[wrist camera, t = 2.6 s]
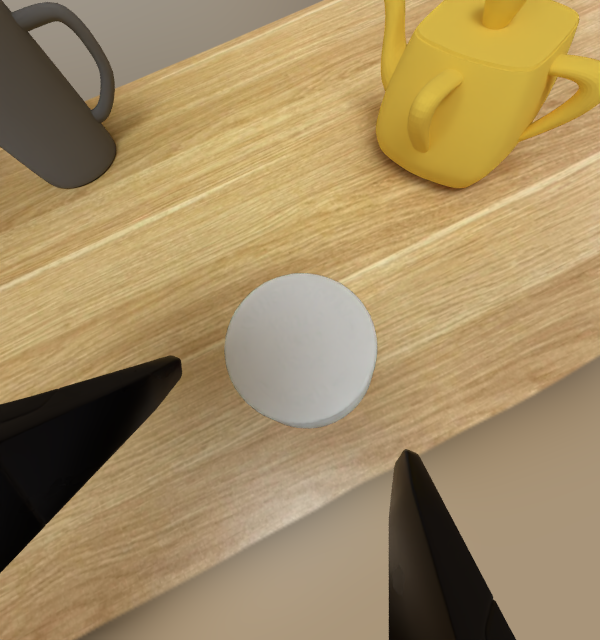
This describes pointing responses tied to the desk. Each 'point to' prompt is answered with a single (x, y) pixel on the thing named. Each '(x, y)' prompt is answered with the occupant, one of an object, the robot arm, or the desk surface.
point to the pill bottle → (301, 350)
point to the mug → (51, 102)
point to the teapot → (476, 84)
